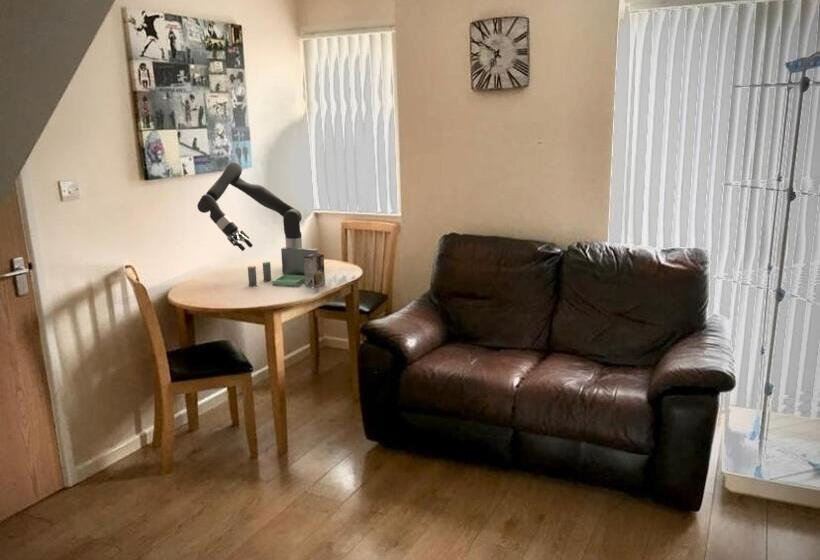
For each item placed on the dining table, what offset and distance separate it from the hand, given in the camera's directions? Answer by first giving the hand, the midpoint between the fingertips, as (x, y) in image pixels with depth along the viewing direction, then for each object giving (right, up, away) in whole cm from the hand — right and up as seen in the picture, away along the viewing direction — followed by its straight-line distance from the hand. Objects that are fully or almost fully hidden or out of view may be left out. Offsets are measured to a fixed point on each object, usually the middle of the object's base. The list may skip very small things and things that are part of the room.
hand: (247, 248), depth 358 cm
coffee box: (+37, -20, -9) cm, 43 cm away
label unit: (+27, -16, +8) cm, 32 cm away
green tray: (+23, -18, -3) cm, 30 cm away
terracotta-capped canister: (+4, -20, -8) cm, 22 cm away
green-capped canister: (+10, -17, +2) cm, 20 cm away
